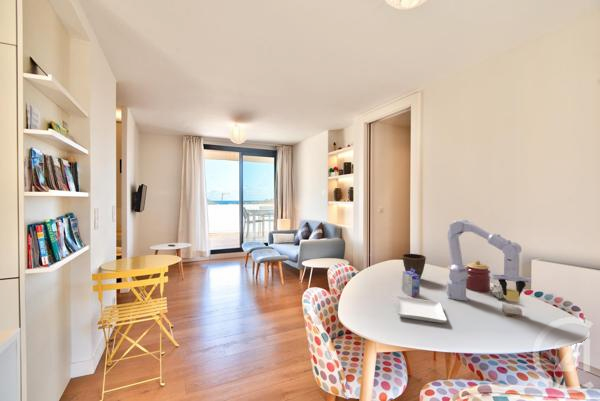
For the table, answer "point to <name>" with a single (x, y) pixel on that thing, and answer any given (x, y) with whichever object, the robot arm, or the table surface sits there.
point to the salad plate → (420, 309)
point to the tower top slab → (512, 309)
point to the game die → (497, 291)
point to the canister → (478, 277)
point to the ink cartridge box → (411, 283)
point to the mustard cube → (512, 294)
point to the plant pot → (414, 263)
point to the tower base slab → (511, 314)
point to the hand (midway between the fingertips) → (511, 295)
